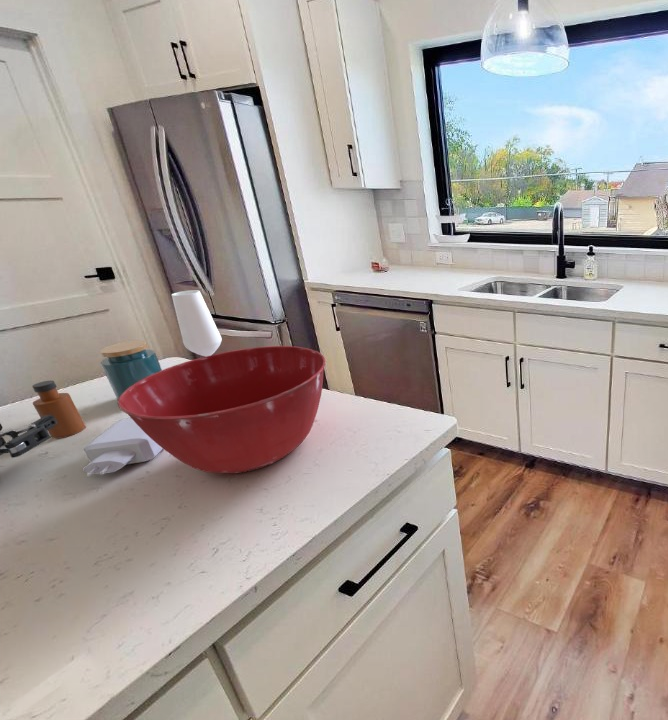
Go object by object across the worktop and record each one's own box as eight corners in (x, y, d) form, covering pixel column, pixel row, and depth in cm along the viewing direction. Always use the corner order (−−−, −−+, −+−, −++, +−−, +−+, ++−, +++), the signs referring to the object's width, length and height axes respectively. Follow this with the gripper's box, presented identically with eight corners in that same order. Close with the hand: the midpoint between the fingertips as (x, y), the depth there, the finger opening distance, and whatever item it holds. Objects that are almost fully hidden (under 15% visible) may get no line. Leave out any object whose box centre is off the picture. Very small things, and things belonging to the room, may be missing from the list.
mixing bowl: (289, 399, 94) (271, 335, 88) (373, 434, 81) (358, 360, 74) (128, 468, 72) (88, 388, 66) (206, 531, 58) (166, 438, 52)
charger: (66, 492, 66) (125, 440, 80) (134, 482, 68) (181, 433, 82) (52, 468, 65) (115, 419, 78) (123, 458, 67) (173, 412, 80)
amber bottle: (44, 439, 80) (15, 390, 76) (65, 426, 85) (39, 379, 81) (72, 437, 81) (46, 388, 77) (92, 424, 86) (68, 377, 81)
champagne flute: (245, 390, 99) (212, 290, 89) (215, 403, 93) (176, 298, 84) (228, 385, 101) (194, 288, 92) (197, 397, 96) (158, 295, 86)
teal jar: (108, 408, 92) (83, 355, 87) (137, 389, 100) (115, 340, 95) (154, 404, 93) (132, 352, 88) (179, 386, 101) (160, 338, 96)
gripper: (-36, 452, 60) (61, 399, 75) (-158, 464, 58) (-33, 407, 73) (-8, 493, 63) (80, 434, 78) (-123, 505, 61) (-10, 443, 76)
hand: (25, 421), depth 75 cm, fingers open, 8 cm apart
